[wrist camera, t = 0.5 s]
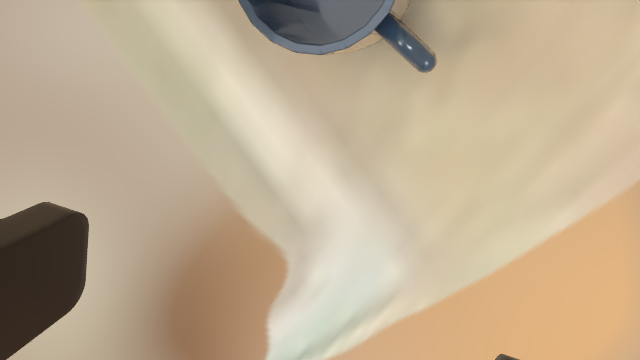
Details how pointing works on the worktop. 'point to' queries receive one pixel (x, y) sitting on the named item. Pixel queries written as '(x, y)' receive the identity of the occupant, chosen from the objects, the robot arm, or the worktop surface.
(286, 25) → the mug
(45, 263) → the robot arm
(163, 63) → the worktop surface
